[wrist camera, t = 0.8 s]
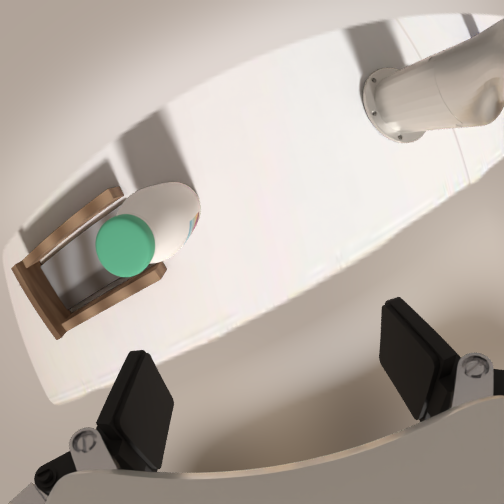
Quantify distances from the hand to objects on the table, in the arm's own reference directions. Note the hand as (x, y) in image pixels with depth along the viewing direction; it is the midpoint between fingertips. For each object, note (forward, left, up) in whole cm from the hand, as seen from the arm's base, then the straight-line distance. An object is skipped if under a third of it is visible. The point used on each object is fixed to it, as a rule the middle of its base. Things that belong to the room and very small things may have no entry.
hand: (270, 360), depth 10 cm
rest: (+24, -6, -30) cm, 38 cm away
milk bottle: (+8, -6, -30) cm, 32 cm away
